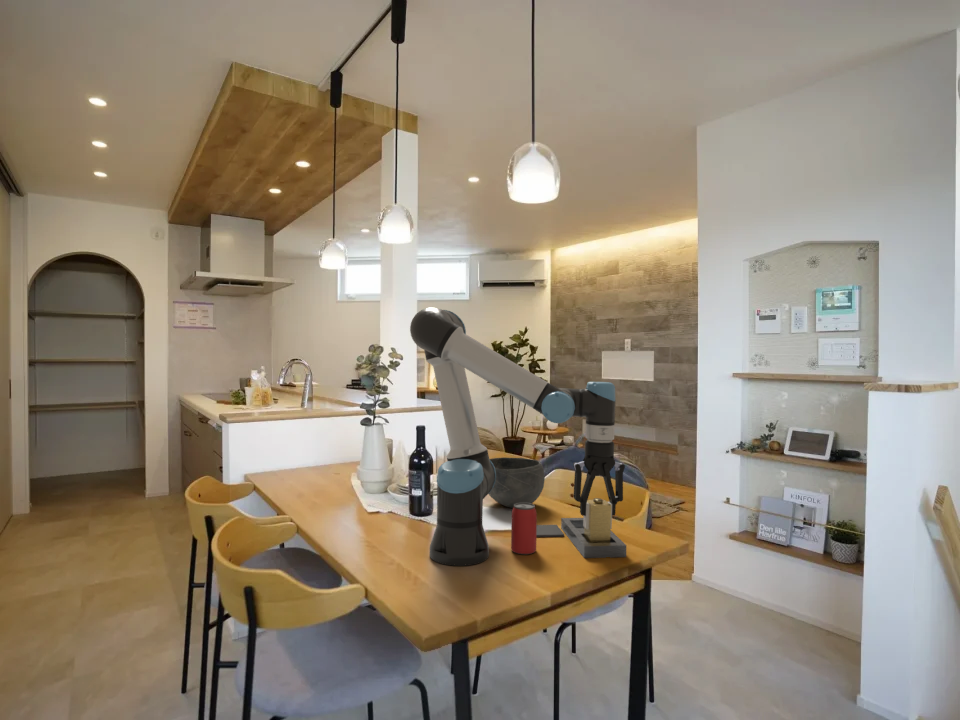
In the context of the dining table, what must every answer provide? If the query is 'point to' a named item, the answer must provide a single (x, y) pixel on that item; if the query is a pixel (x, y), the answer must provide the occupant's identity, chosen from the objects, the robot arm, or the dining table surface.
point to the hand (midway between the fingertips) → (597, 527)
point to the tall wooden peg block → (598, 521)
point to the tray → (591, 550)
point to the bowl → (517, 480)
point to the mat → (548, 531)
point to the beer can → (523, 528)
